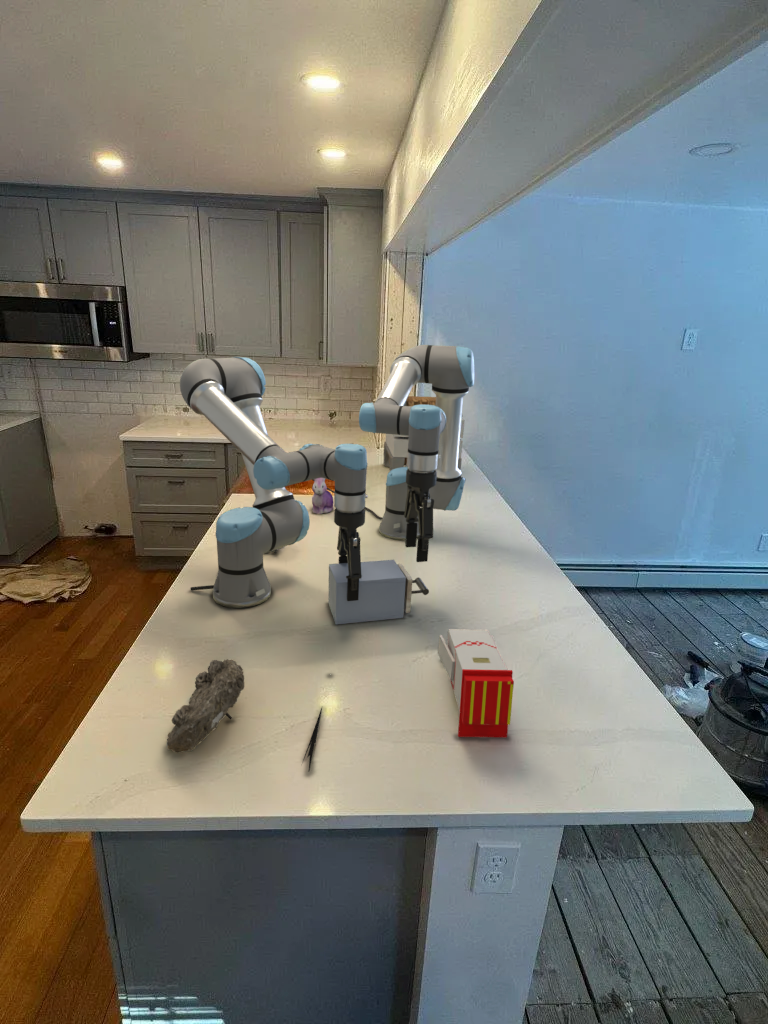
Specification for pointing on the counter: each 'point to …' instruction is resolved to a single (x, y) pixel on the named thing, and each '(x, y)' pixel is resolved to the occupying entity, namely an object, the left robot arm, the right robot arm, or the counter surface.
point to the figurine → (321, 497)
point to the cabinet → (367, 592)
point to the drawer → (409, 588)
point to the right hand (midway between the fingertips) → (416, 553)
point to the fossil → (206, 705)
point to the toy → (478, 682)
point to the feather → (313, 740)
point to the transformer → (399, 443)
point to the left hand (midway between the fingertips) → (347, 589)
